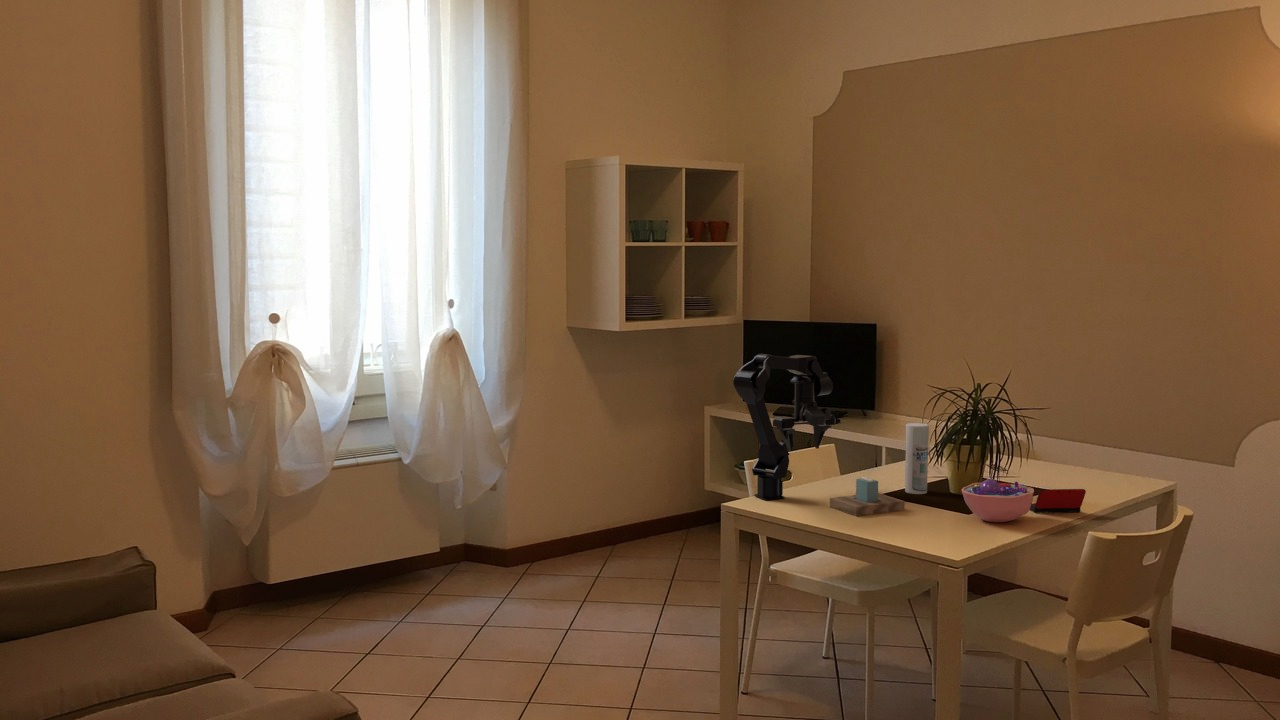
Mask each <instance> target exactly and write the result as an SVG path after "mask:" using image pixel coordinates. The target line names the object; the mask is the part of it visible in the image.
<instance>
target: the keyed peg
mask: <svg viewBox="0 0 1280 720" xmlns="http://www.w3.org/2000/svg"><path fill="white" fill-rule="evenodd" d="M860 477H861V476H860ZM855 480H856V481H855V482H856V483H855V486H856V487H855V495H856V500H859V501H862V502H865V503H871V502H878V493H879V481H878V480H875V479H872V478H869V477H865V476H862V477H861V478H856V479H855Z"/></svg>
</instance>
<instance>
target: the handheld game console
mask: <svg viewBox="0 0 1280 720" xmlns="http://www.w3.org/2000/svg"><path fill="white" fill-rule="evenodd" d="M1086 493H1087V491H1086V489H1084V488H1060V489H1059V488H1058V489H1056V488H1055V489H1053V488H1050V489H1041V490H1040V491H1039V492H1038V494H1037V498H1036V501H1035V502H1034V503H1032V504H1031V507H1030V510H1029V511H1031V512H1033V513H1034V514H1054V513H1055V514H1056V513H1057V514H1058V513H1059V514H1060V513H1061V514H1068V513H1070V514H1072V513H1073V514H1076V513H1077V514H1078V513H1081V507H1082V505H1083V502H1084V499H1085V496H1086Z"/></svg>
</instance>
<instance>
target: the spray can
mask: <svg viewBox="0 0 1280 720" xmlns="http://www.w3.org/2000/svg"><path fill="white" fill-rule="evenodd" d="M929 428H930V426H929V424H927V423H923V422H922V423H921V422H910V423H909V422H908V423H906V424H905V466H904V467H905V469H904V471H905V472H904V473H905V475H904V476H905V477H904V480H905V481H904V482H905V483H904V487H905V488H904V491H905V493H907V494H912V495H924V494H927V493H928V475H929V474H928V472H929V471H928V469H929V468H928V467H929V464H928V463H929V442H930V441H929V439H930V438H929V436H930V435H929V434H930V431H929V430H930V429H929Z"/></svg>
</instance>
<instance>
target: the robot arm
mask: <svg viewBox="0 0 1280 720" xmlns="http://www.w3.org/2000/svg"><path fill="white" fill-rule="evenodd" d="M760 369H761V371H760V372H759V371H758V370H760ZM772 369H779V370H786V371H789V373H792V374H795V375H794V376H793V377H792V378H791V379H790V383H791V384H794V399H793V400H792V405H794V413H792V414H791V417H789V416H786V415H785V416H783V415H782V416H774V418H773V419H772V422H771V418H770V414H769V412H768V409H767V405H766V402H765V398H764V395H765V393H766V388H767V387H766V384H767V382H768V380H770V377H771V371H772ZM732 383H733V387H734V389H735V391H736V392H737V395H738V396H739V397H740V398H741V399H742V400H743V401H744V402H745V403H746V405H747V408H748V411H749V412H748V413H749V415H750V419H751V422H752V426H753V428H754V430H755V434H756V436H757V440H758V444H759V447H758V451H757V460H756V462H755V463H754V465H753V466H752V468H751V471H752V475H753V476H757V477H756V478H757V486H756V487H757V488H756V490H757V493H754V497H755V498H759V499H761V500H764V501H772V500H779V499H781V500H782V499H785V496H784V495H783V488H784V486H783V484H784V482H783V480H782V479H783V478H785V479H786V477H787V474H788V469H789V465H790V457H789V456H790V453H789V452H793V449H794V447H793V446H794V441H793V439H794V432H795V430H796V429H795V428H794V427H795V425H797V426H798V425H810V426H812V427H813V439H814V440H813V442H814V447H815V449H816V450H817V449H818V450H819V449H820V446H821V444H822V443H821V442H822V439H823V438H824V435H825V432H827V431H828V430H829V429H830V428H831V429H832V426H835V425H836V417H835V415H834V414H831V409H830V408H829V407H823V408H819V407H818V402H817V401H815V397H819V396H826V395H830V394H831V393H832V392H833V389H834V383H833V381H832V379H831V378H830V377H829V373H828V372H824V370H823V369H822V368H821V365H820V363H819V361H818V359H817V357H816V356H814V355H805V354H804V355H803V354H795V355H790V356H778V355H772V354H768V353H767V354H765V353H758V354H756V355H755V356H754V357H753V359H752V360H751V361H749V362H747V363H746V364H743V365H742V366H741V367H740V368H739V370H738V371H737V372H736V373H735V375H734V376H733V381H732ZM774 427H775V428H776V430H779V433H781V435H782V437H783V439H784V441H785V442H782V441H778V440H777V436H776V434H775V430H774Z"/></svg>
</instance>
